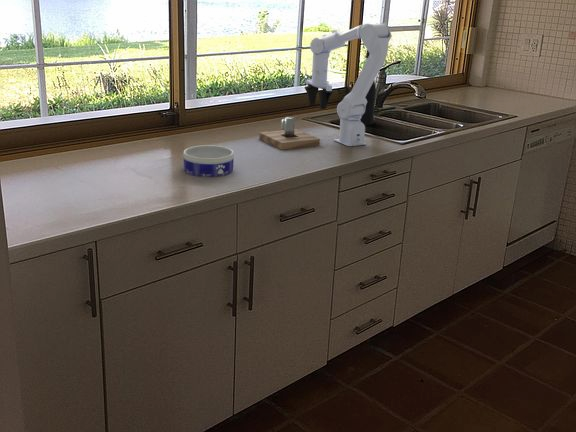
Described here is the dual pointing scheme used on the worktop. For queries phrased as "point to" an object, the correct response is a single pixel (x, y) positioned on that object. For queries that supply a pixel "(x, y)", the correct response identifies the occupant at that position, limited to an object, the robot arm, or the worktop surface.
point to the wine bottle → (369, 103)
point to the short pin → (283, 124)
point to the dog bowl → (208, 161)
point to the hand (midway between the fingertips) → (317, 106)
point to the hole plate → (289, 139)
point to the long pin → (289, 127)
